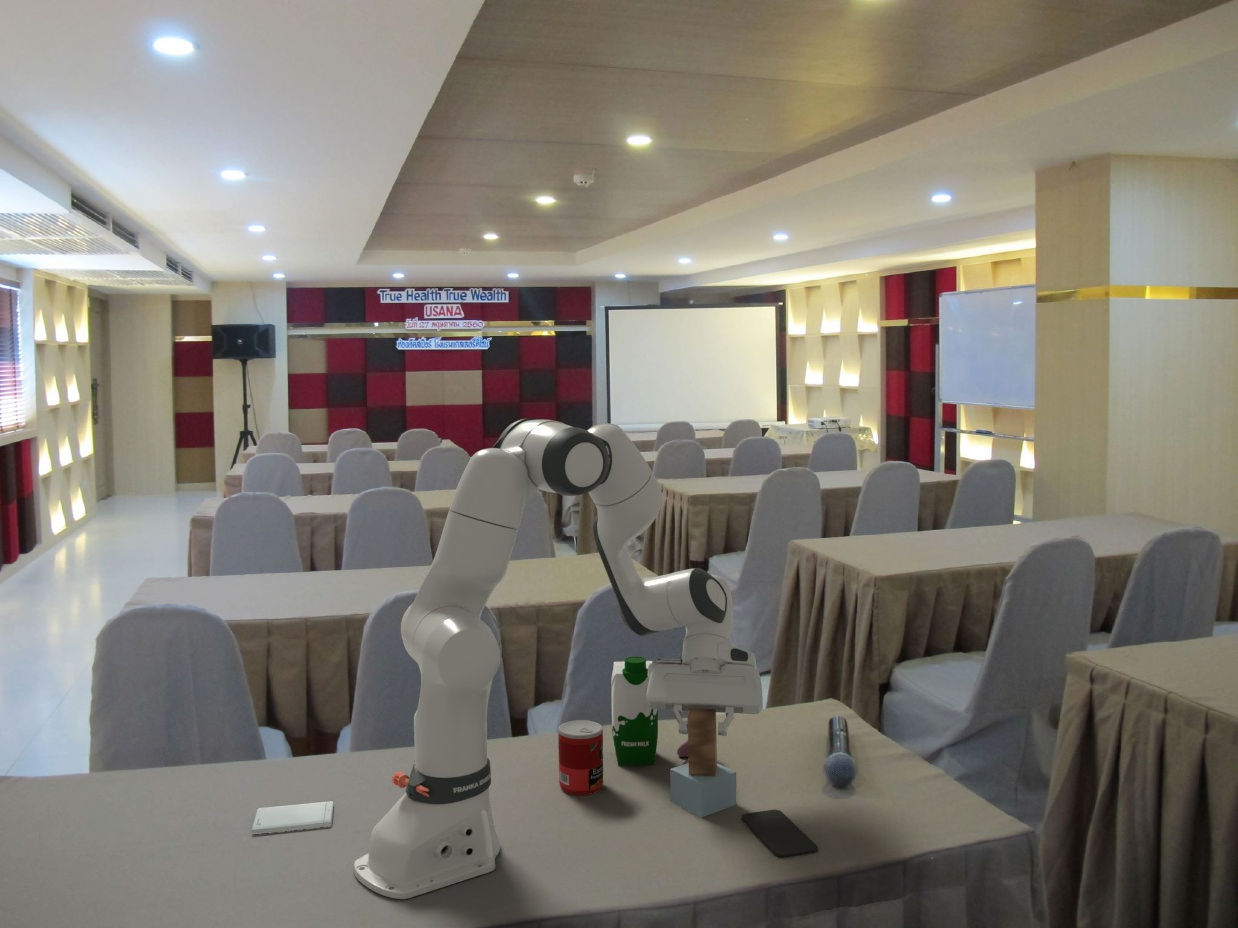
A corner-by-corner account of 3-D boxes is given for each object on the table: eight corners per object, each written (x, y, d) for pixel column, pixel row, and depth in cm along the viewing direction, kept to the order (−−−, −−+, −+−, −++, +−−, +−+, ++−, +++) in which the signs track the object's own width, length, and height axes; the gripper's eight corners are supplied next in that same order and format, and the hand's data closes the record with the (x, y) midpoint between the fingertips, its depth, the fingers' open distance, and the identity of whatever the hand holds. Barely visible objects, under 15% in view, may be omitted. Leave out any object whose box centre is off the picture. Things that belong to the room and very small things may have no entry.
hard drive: (251, 829, 164) (330, 820, 166) (257, 807, 172) (333, 798, 174) (251, 838, 164) (331, 829, 167) (258, 816, 172) (334, 808, 175)
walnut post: (688, 774, 172) (687, 717, 171) (691, 764, 176) (689, 708, 175) (715, 775, 171) (714, 717, 170) (717, 765, 175) (715, 709, 175)
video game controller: (700, 784, 186) (717, 750, 185) (678, 773, 185) (695, 740, 185) (695, 762, 195) (712, 731, 195) (674, 752, 195) (691, 720, 194)
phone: (779, 808, 171) (821, 848, 157) (779, 813, 171) (821, 853, 157) (738, 814, 169) (777, 855, 155) (738, 818, 169) (777, 860, 155)
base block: (701, 818, 169) (701, 783, 168) (670, 802, 175) (670, 768, 174) (736, 805, 173) (736, 771, 173) (705, 789, 180) (705, 757, 179)
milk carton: (613, 767, 189) (612, 663, 187) (611, 749, 198) (610, 649, 196) (660, 766, 190) (659, 662, 187) (655, 747, 199) (655, 648, 196)
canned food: (598, 797, 177) (597, 736, 176) (554, 793, 178) (553, 733, 177) (607, 779, 184) (606, 720, 183) (565, 776, 186) (564, 718, 185)
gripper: (647, 649, 180) (640, 722, 171) (763, 653, 177) (762, 728, 168) (650, 666, 185) (643, 738, 176) (763, 670, 182) (762, 744, 173)
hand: (702, 733), depth 172 cm, fingers open, 5 cm apart
